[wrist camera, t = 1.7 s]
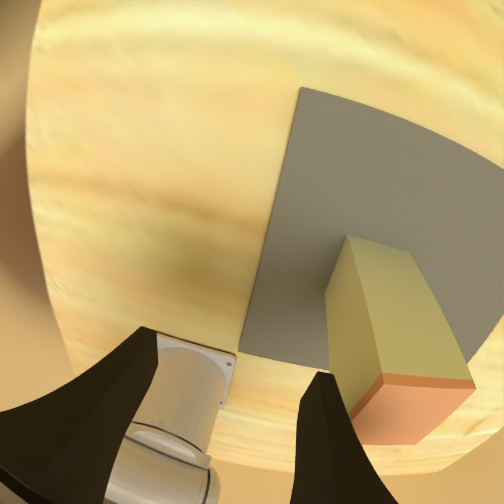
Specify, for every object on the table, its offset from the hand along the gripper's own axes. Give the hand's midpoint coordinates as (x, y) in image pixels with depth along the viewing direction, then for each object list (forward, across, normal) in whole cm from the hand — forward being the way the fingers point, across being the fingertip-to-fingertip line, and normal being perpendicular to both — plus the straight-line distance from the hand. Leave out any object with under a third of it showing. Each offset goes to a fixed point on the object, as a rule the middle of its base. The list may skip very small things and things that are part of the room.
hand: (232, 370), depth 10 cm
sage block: (+10, -7, 0) cm, 12 cm away
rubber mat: (+10, -11, 0) cm, 15 cm away
